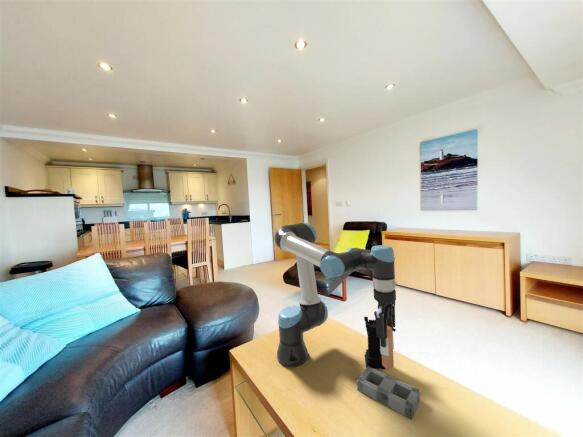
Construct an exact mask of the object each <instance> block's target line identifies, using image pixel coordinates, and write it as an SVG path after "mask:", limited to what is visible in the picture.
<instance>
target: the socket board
mask: <svg viewBox="0 0 583 437" xmlns="http://www.w3.org/2000/svg"><path fill="white" fill-rule="evenodd" d="M372 382H374V383H375V384H374V383H372ZM376 384H377V385H376ZM356 387H357V388H356V390H357V391H359V392H361V393H363V394H364V395H366V396H368V397H369V398H372V399H374V400H375V401H377V402H380V403H381V404H382V405H385V406H387V407H388V408H390V409H392V410H394V411H396V412H398V413H399V414H401V415H402V416H405V417H407V419H411V420H412V419H413V417H414V416H415V413H416V410H417V407H418V406H419V405H418V404H419V402H420V399H421V398H420V395H421V394H420V389H419V388H416V387H415V386H412V385H410V384H407V383H406V382H404V381H401V380H399V379H398V378H395V377H393V376H390V375H388V374H386V373H384V372H381V370H380V371H379V370H378V369H373V368H371V367H369V366H368V367H367V368H365V369H364V371H363V372H362V373H361V375H360V376H359V377H358V378H357V380H356ZM397 394H398V395H399V396H398V395H397ZM400 396H401V397H400ZM403 397H404V398H403Z"/></svg>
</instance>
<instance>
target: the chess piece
mask: <svg viewBox="0 0 583 437" xmlns="http://www.w3.org/2000/svg"><path fill="white" fill-rule="evenodd" d="M363 320H364V322H365V329H366V330H365V331H366V335H367V349H365V352H364V353H365V354H364V362H365V367H366V368H367V367H368V366H369V367H371V368H373V369H375V370H386V368H385V367H384V366H383V365H382V354H381V349H380V338H378V337H377V334H376V320H375V319H369V317H368V316H363ZM366 368H365V369H366Z"/></svg>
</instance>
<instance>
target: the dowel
mask: <svg viewBox="0 0 583 437" xmlns="http://www.w3.org/2000/svg"><path fill="white" fill-rule="evenodd" d="M392 332H393V331H392V328H391V327H390V326H387V337H388V344H389V356H386V355H384V354H382V365H383V366H384V367H385V369H394V367H395V366H394V365H395V364H394V363H395V360H394V349H393V341H394V335H393V336H392Z"/></svg>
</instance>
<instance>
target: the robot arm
mask: <svg viewBox="0 0 583 437" xmlns="http://www.w3.org/2000/svg"><path fill="white" fill-rule="evenodd" d="M273 238H274V239H273V240H274V243H275V245H276V246H277V248H279V249H280V250H281V251H283V252H290V253H292V254H293V255H295V260H296V267H297V274H298V282H299V290H300V295H301V298H300V300H299V304H298V305H299V306H298V305H292V306H291V305H289V306H286V307H284V308H282V309H281V310H280V311H279V314H278V318H277V320H278V321H277V324H278V332H279V333H278V335H279V343H278V349H277V351H276V352H277V353H276V357H277V358H276V359H277V362H278V363H279V364H280V365H282V366H285V367H287V368H288V367H289V368H290V367H298V366H299V367H300V366H301V365H303V364H304V363H305V362H306V361H307V360H308V356H309V355H308V354H309V353H308V352H309V351H308V348H307V346H306V344H305V341H304V333H306V332H308V331H310V330H313V329H315V328H317V327H320V326H322V325H323V324H324V323H326V321H327V319H328V316H329V310H328V307H327V305H326V303H325V302H324V301H323V300H322V298H321V297H320V296H319V294H318V289H317V287H318V286H317V281H316V275H315V274H316V273H315V266H317V267H319V268H320V271H321V273H322V274H323V275H324V276H325V277H327V278H329V279H332V278H338V277H340V276H343V275H346V274H348V273H352V272H354V271H358V270H362V269H363V270H367V271H372V272H371V273H372V288H373V299H374V300H375V301H376V302H377V311H374V313H373V315H374V320H376V334H377V337H378V338H380V351H381V354H384V355H386V356H389V344H388V337H387V326H390V327H391V328H392V336H393V337H394V332H396V331H397V330H396V301H397V291H396V285H397V281H396V274H395V272H396V270H395V261H396V260H395V259H396V258H395V253H394V248H393V247H392V246H390V245H383V244H382V245H374V246H372V247H371V249H364V248H359V247H349V248H347V249H346V250H345V252H340V253H337V252H334V251H331V250H330V249H327V248H325V247H324V246H323V247H322V246H320V245H318V244H315V242H316V241H317V239H318V235H317V231H316V228H315V227H314V226H313V225H312V224H311V223H309V222H300V223H294V224H285V225H282V226H281V227H279V228H278V229H277V230H276V232H275V233H274V237H273ZM314 265H315V266H314ZM394 344H395V343H394V340H393V350H394V349H395V347H394Z"/></svg>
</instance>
